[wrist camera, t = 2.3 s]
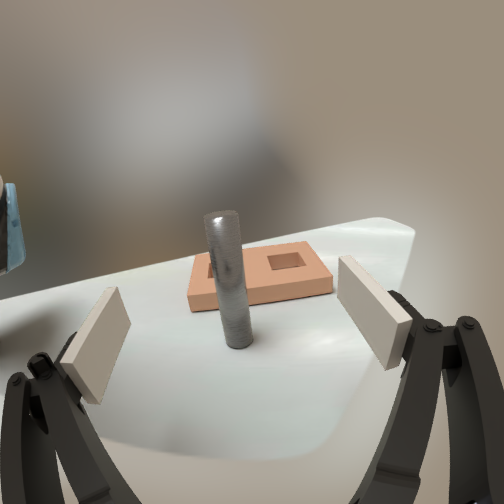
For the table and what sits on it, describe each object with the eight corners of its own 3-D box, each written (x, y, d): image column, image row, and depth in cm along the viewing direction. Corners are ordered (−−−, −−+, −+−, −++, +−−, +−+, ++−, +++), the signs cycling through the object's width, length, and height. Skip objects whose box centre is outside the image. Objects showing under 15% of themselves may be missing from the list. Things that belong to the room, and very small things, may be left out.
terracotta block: (190, 311, 35) (186, 295, 34) (198, 268, 47) (195, 254, 46) (332, 292, 36) (332, 276, 35) (306, 254, 48) (306, 241, 47)
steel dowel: (226, 349, 28) (202, 222, 22) (225, 332, 31) (204, 212, 25) (254, 346, 28) (238, 217, 22) (251, 329, 31) (237, 208, 25)
